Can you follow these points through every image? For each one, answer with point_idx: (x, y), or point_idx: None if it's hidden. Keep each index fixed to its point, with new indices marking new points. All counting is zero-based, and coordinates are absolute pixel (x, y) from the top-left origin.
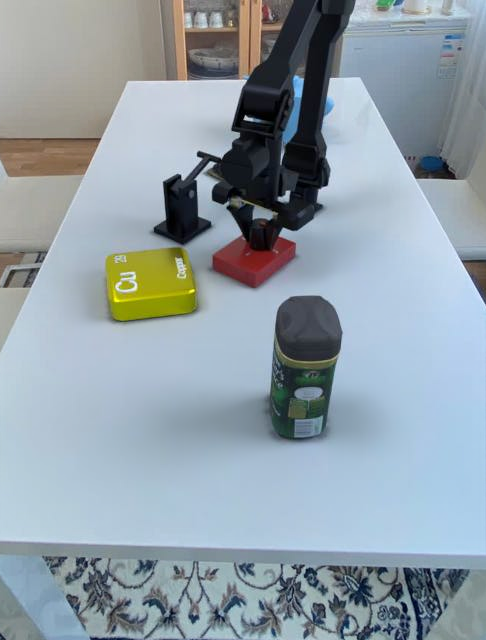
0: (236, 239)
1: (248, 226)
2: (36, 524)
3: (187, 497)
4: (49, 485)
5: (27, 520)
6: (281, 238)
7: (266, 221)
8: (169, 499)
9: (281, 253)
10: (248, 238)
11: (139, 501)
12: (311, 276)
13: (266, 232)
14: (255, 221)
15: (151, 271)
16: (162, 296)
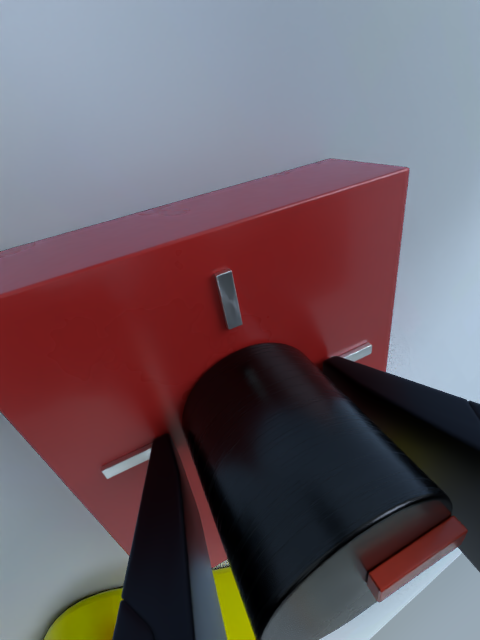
0: (91, 500)
1: (203, 577)
2: (377, 629)
3: (453, 550)
4: (361, 634)
5: (370, 635)
6: (294, 220)
7: (392, 533)
8: (442, 561)
9: (388, 332)
10: (185, 474)
11: (424, 578)
12: (452, 218)
13: (470, 554)
14: (306, 618)
15: None
16: None
